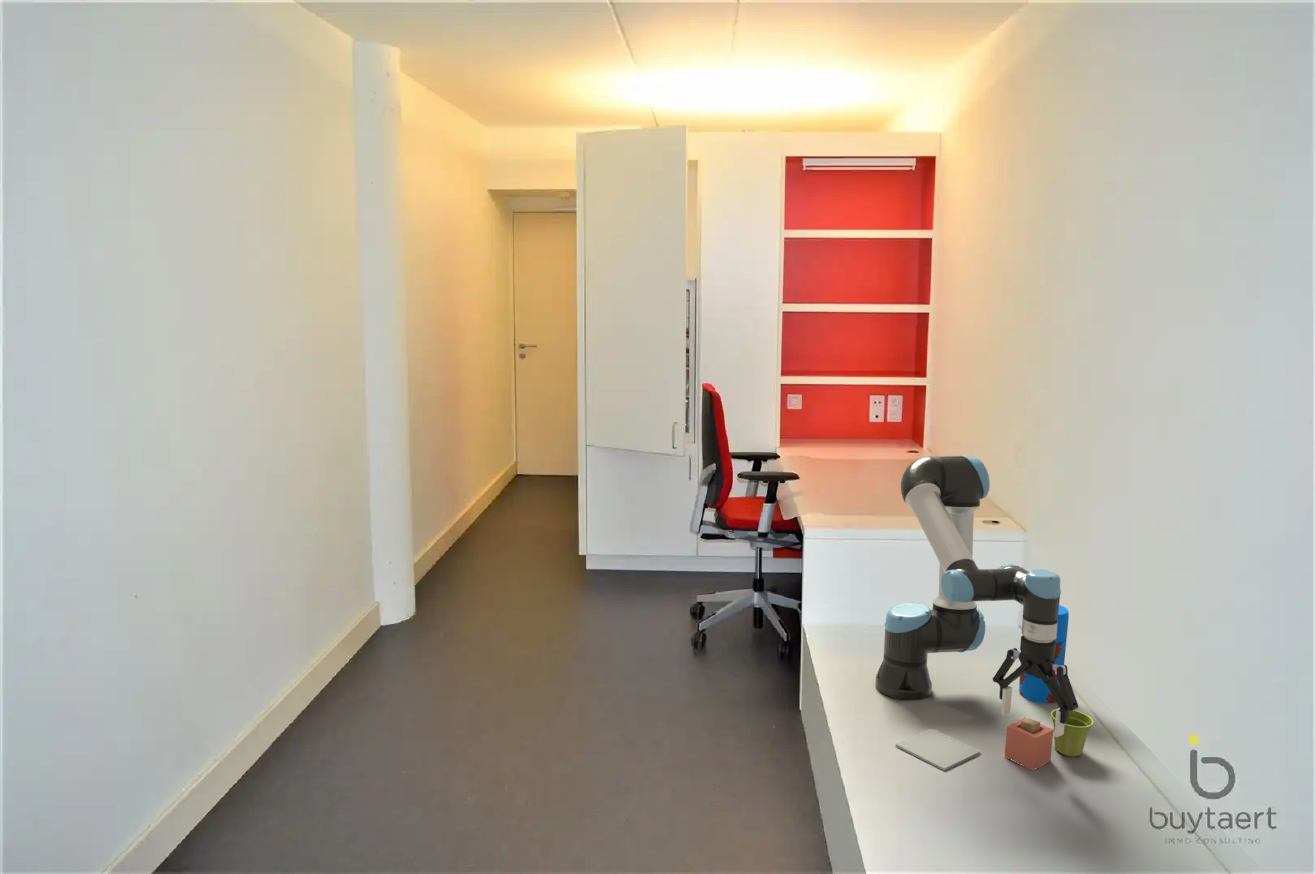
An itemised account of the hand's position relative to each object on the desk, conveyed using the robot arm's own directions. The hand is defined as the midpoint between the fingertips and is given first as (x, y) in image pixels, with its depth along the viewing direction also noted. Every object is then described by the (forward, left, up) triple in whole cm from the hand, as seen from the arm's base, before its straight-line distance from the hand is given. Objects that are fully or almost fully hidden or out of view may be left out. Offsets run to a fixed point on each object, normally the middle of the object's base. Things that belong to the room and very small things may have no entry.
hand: (1031, 724), depth 217 cm
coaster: (-15, -14, -9) cm, 23 cm away
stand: (0, 0, -9) cm, 9 cm away
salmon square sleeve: (0, 0, -9) cm, 9 cm away
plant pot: (+3, +12, -9) cm, 16 cm away
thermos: (-18, +35, -9) cm, 41 cm away
